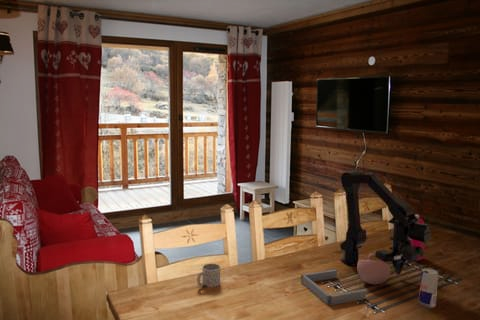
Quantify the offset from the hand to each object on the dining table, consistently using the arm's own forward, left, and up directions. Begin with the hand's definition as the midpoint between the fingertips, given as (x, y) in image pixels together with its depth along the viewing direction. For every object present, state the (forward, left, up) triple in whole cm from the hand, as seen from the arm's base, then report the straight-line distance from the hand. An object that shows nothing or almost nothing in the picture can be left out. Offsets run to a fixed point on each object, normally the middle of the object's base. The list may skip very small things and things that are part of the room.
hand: (398, 274), depth 161 cm
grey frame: (0, -30, -2) cm, 30 cm away
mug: (-19, -72, -2) cm, 75 cm away
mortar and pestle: (0, -12, -2) cm, 12 cm away
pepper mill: (-15, +22, -2) cm, 27 cm away
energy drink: (+20, -5, -2) cm, 21 cm away
